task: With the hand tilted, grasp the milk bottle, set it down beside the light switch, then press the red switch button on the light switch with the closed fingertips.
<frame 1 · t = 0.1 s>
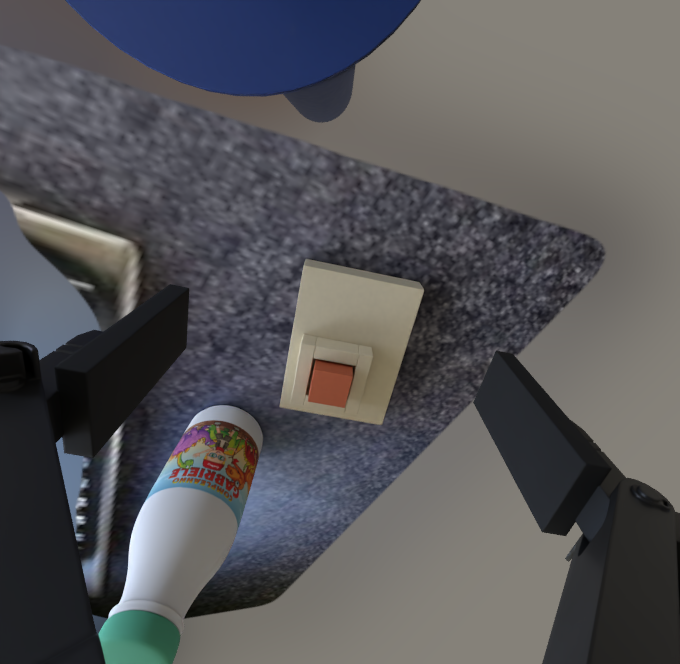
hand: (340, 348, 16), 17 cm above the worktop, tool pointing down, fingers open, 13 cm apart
milk bottle: (228, 431, 40), on the worktop
red switch button: (330, 383, 32), point 4 cm above the worktop, slide at 0.1 cm
light switch: (346, 342, 35), on the worktop
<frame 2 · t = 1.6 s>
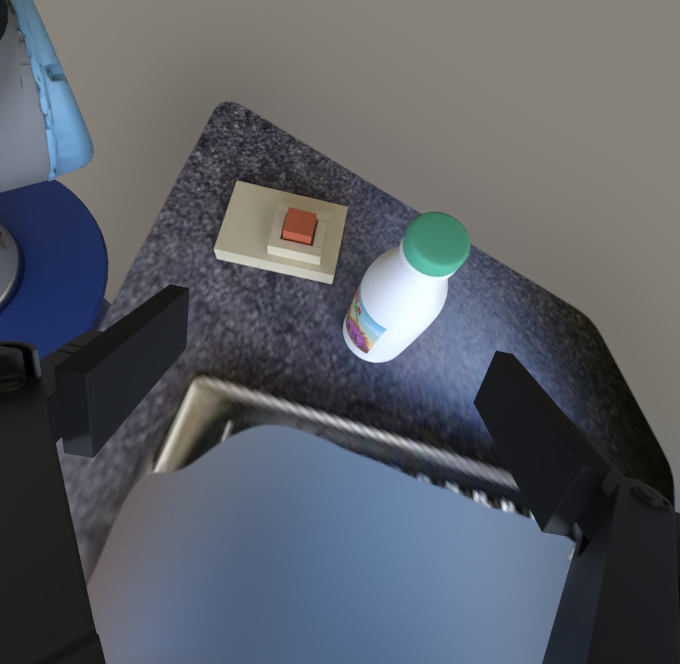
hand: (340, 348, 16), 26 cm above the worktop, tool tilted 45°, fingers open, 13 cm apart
milk bottle: (373, 333, 45), on the worktop
red switch button: (299, 226, 43), point 4 cm above the worktop, slide at 0.1 cm
light switch: (284, 237, 47), on the worktop
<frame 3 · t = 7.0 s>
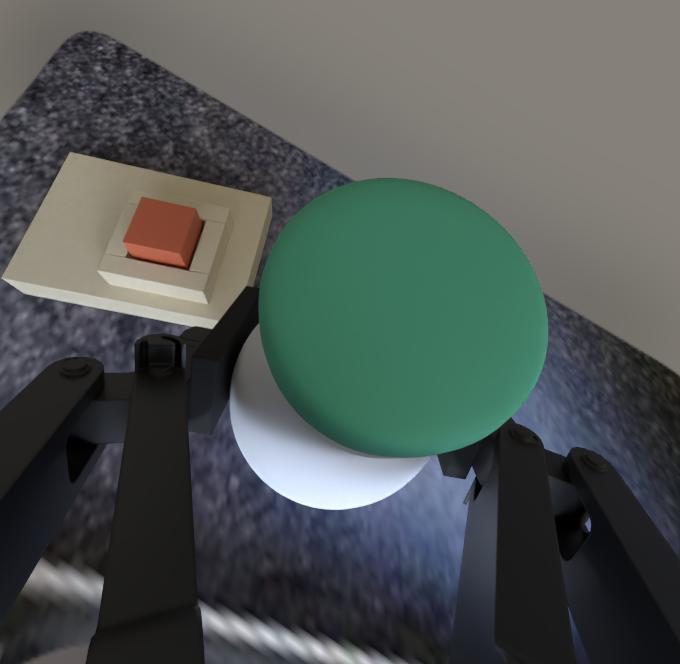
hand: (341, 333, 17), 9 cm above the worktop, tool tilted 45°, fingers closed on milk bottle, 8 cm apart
milk bottle: (313, 426, 24), on the worktop, touching gripper
red switch button: (164, 233, 22), point 4 cm above the worktop, slide at 0.1 cm
light switch: (159, 251, 27), on the worktop
when the fingers open (9 cm above the worktop, at t = 14.6 s): milk bottle stays where it is, on the worktop.
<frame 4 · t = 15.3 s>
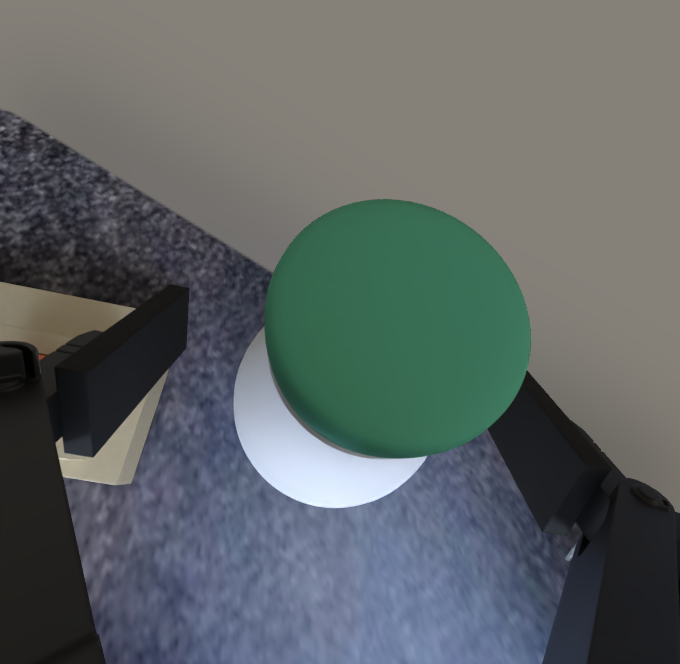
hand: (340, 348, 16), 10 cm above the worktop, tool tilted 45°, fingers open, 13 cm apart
milk bottle: (313, 427, 25), on the worktop
red switch button: (25, 387, 19), point 4 cm above the worktop, slide at 0.1 cm
light switch: (45, 379, 23), on the worktop
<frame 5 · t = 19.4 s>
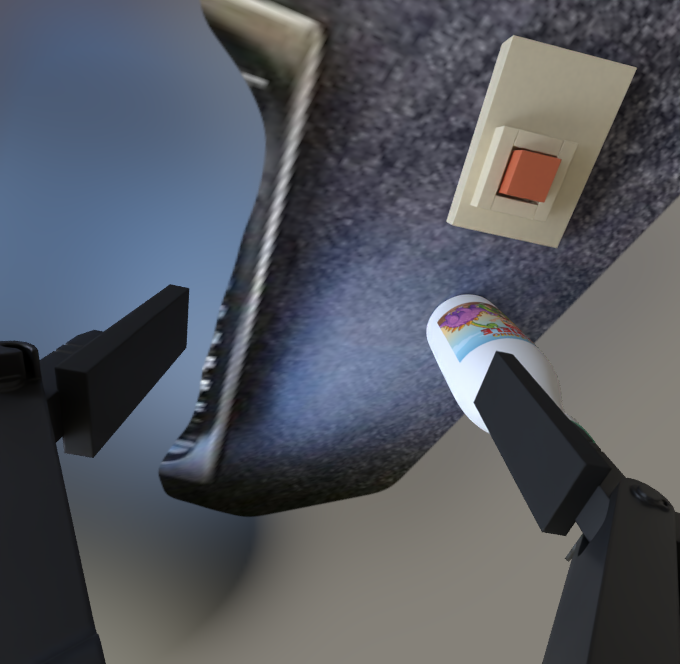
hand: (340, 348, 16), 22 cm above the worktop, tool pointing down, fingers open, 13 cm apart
milk bottle: (461, 326, 40), on the worktop
red switch button: (528, 176, 30), point 4 cm above the worktop, slide at 0.1 cm
light switch: (525, 153, 33), on the worktop
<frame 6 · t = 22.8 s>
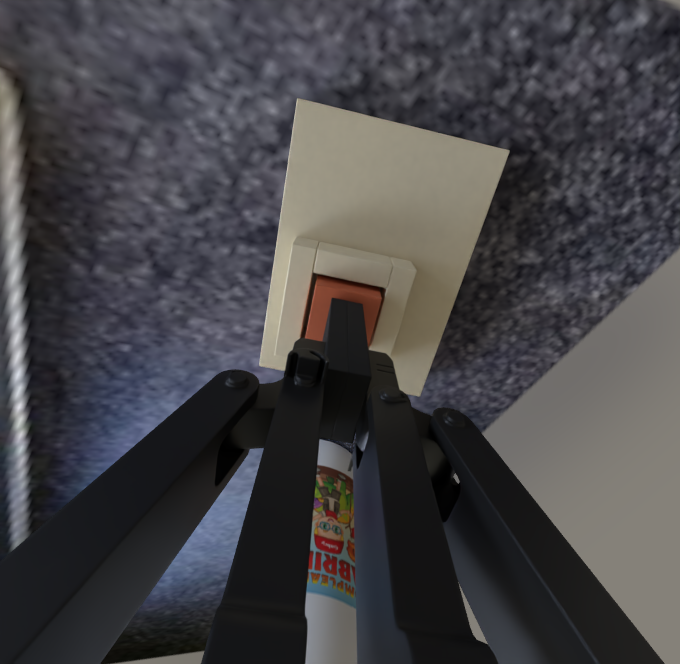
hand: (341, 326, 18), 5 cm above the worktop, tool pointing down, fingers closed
milk bottle: (314, 472, 29), on the worktop
red switch button: (342, 315, 19), point 4 cm above the worktop, slide at -0.4 cm, touching gripper
light switch: (366, 261, 22), on the worktop
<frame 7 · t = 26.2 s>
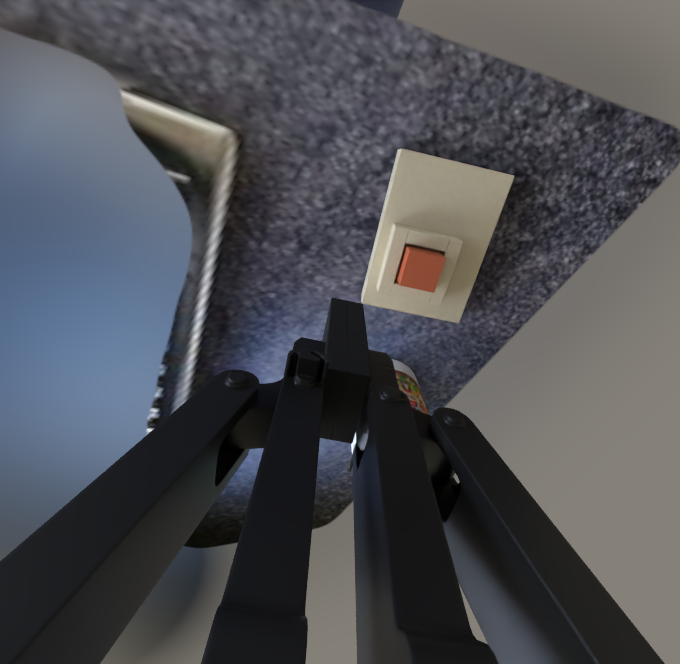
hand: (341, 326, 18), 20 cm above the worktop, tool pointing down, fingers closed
milk bottle: (383, 384, 44), on the worktop
red switch button: (420, 269, 33), point 4 cm above the worktop, slide at 0.1 cm
light switch: (428, 239, 36), on the worktop
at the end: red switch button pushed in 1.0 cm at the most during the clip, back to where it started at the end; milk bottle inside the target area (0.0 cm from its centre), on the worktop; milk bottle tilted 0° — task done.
